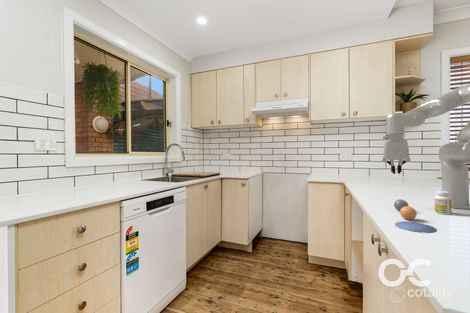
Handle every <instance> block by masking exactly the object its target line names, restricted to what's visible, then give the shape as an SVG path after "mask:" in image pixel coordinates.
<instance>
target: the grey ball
mask: <svg viewBox="0 0 470 313" xmlns="http://www.w3.org/2000/svg"><path fill="white" fill-rule="evenodd" d="M405 206H409V203H408V202H407V201H406V200H404V199H396V200H395V201H394V203H393V207H394V208H395V210H396V211H398V212H400V209H401V208H402V207H405Z"/></svg>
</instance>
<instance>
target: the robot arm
mask: <svg viewBox="0 0 470 313" xmlns="http://www.w3.org/2000/svg"><path fill="white" fill-rule="evenodd" d="M468 103H470V83H468V84H464V85H462V86H459V87H457V88H454V89H453V90H451V91H448V92H446V93H444V94H442V95H440V96H437V97H436V98H434V99H432V100H430V101H428V102H425V103H424V104H421V105H419V106H417V107H415V108H413V109H410V110H409V111H405V112H404V113H402V112H399V113H398V112H396V113H390V114H387V115H386V116H385V131H386V133H385V135H384V136H383V137H382V139H383V140H384V145H383V157H382V160H381V161H382V162H383V163H387V164H388V165H389V166H390V171H391V173H392V174H393V175H394V174H396V172H397V174H399V175H401V173H402V171H403V170H402V168H403V167H402V166H404V164H406V163H409V162H411V158H410V151H409V150H410V149H409V143H408V140H407V139H405V129H408V128H414V127H419V126H421V125H422V124H424V123H425V122H426V121H425V120H428V119H431V118H435V117H439V116H442V115H444V114H446V113H449V112H450V111H452V110H455V109H457V108H459V107H461V106H463V105H466V104H468ZM456 141H457V142H449V143H446V144H443V145H442V146H440V148H438V154H437V155H438V158H439V162H440V169H441V191H446V192H449V195H448V197H450V198H451V209H458V210H459V209H460V210H461V209H462V210H470V180H469V179H470V176H469V174H470V172H469V168H468V166H467V164H468V163H470V120H469V121H468V122H467V123H466V124H465V126H463V128H461V129H460V131H459V132H458V133H457V134H456ZM394 161H398V162H397V163H398V164H397V165H396V166H395V164H394V163H395V162H394ZM466 163H467V164H466ZM396 170H397V171H396Z"/></svg>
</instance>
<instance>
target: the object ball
mask: <svg viewBox="0 0 470 313" xmlns="http://www.w3.org/2000/svg"><path fill="white" fill-rule="evenodd" d="M399 213H400V214H399V215H400V217H402V218H403V219H405V220H408V221H410V220H414V219H415V218H416V217H417V215H418V214H417V210H416V209H415V208H414V207H412V206H409V205H408V206H405V207H402V208H401V209H400V211H399Z"/></svg>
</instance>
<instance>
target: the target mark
mask: <svg viewBox="0 0 470 313" xmlns="http://www.w3.org/2000/svg"><path fill="white" fill-rule="evenodd" d="M425 224H426V223H421V222H416V221H404V220H403V221H397V222H395V223H394V225H395V227H397V228H399V229H402V230H405V231H409V232H414V233H422V232H426V233H427V234H428V233H435V232H437V228H436V227H434V226H432V225H429V224H426V225H425Z"/></svg>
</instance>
